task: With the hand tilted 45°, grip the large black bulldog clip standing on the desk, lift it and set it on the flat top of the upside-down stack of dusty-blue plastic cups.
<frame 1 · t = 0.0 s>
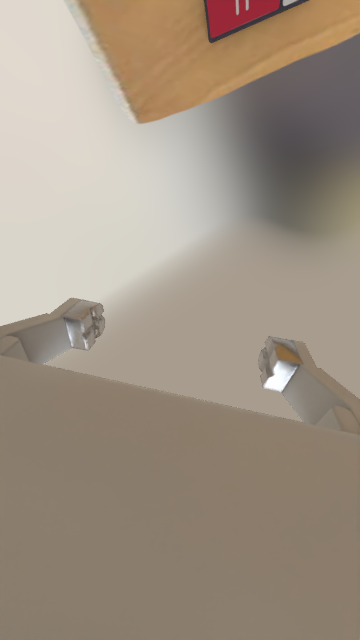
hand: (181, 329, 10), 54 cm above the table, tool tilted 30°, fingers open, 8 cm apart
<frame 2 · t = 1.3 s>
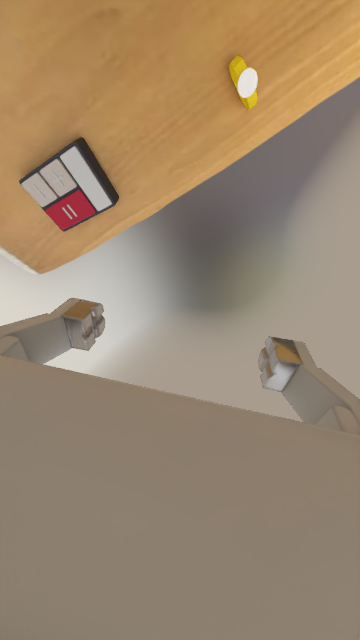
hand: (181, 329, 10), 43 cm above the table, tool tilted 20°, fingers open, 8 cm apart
watch: (239, 84, 33), on the table
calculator: (74, 187, 43), on the table
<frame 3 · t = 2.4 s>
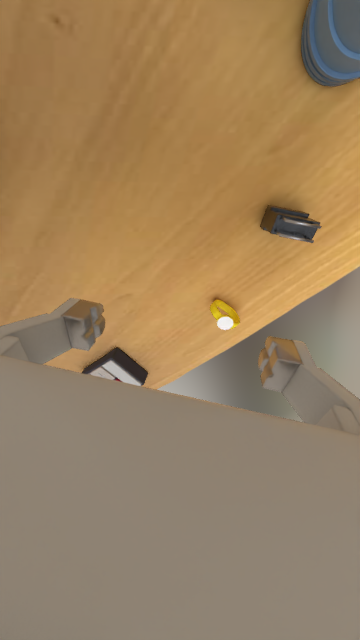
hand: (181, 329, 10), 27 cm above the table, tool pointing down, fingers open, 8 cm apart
clip: (280, 219, 31), on the table
cup stack: (351, 19, 20), on the table
watch: (224, 305, 40), on the table
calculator: (115, 370, 56), on the table
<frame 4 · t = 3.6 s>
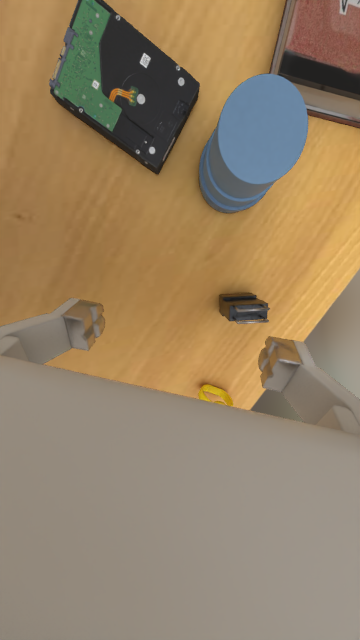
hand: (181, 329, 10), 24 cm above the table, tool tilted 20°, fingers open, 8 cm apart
clip: (234, 302, 34), on the table
cup stack: (230, 177, 29), on the table
disk drive: (128, 103, 27), on the table
watch: (212, 388, 39), on the table
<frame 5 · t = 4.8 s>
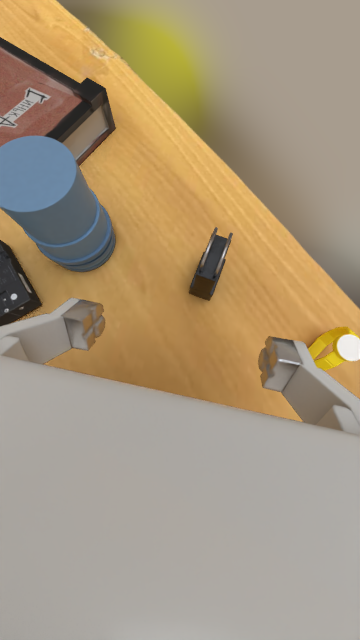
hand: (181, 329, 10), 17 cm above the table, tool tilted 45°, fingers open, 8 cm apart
clip: (205, 280, 28), on the table
cup stack: (83, 242, 29), on the table
watch: (312, 350, 27), on the table
book: (17, 125, 33), on the table
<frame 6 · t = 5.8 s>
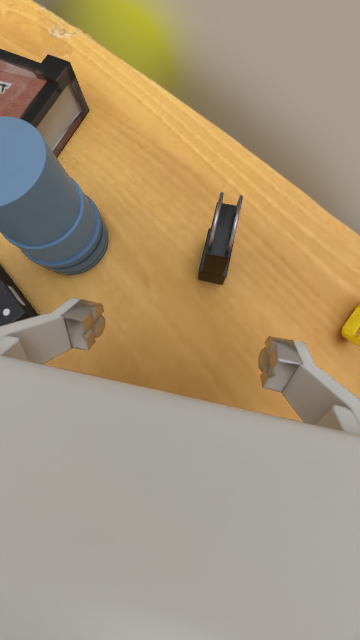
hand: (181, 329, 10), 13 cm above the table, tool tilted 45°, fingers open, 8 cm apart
clip: (214, 262, 25), on the table
cup stack: (73, 241, 26), on the table
watch: (351, 322, 23), on the table
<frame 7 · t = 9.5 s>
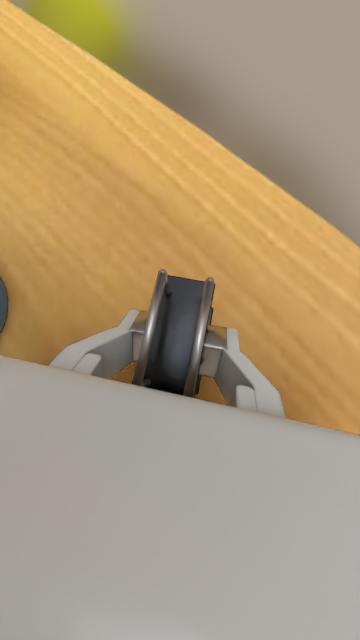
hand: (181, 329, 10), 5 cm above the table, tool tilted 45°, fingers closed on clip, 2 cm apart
clip: (182, 346, 15), on the table, touching gripper
when the fingers open (16 cm above the table, at t = 16.6 s): clip stays where it is, resting on cup stack.
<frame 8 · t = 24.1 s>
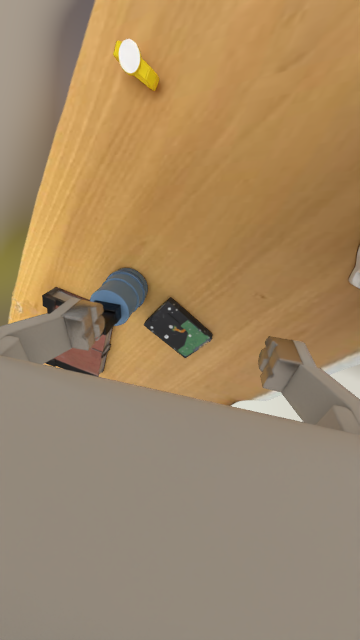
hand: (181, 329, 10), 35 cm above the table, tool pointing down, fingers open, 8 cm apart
clip: (108, 308, 41), point 11 cm above the table, touching cup stack
cup stack: (130, 285, 50), on the table
disk drive: (179, 326, 54), on the table
watch: (144, 76, 30), on the table
book: (84, 334, 62), on the table
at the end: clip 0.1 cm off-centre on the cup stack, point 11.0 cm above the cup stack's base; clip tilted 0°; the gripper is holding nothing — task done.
